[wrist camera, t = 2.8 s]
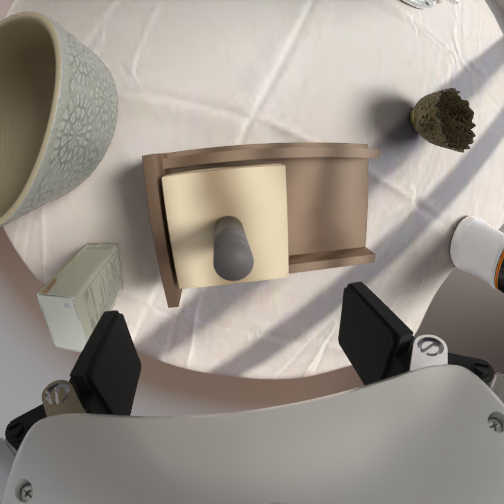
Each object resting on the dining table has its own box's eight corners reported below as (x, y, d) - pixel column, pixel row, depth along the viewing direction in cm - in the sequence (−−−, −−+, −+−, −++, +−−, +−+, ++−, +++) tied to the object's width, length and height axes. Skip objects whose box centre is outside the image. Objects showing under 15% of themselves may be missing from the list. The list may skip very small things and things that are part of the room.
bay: (363, 144, 28) (398, 145, 22) (360, 255, 33) (389, 278, 27) (159, 154, 26) (142, 156, 20) (177, 275, 31) (168, 307, 25)
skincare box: (87, 242, 28) (33, 289, 17) (118, 242, 29) (72, 293, 18) (94, 289, 31) (53, 348, 19) (124, 291, 31) (90, 355, 20)
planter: (13, 99, 20) (-67, 94, 6) (119, 35, 20) (61, -27, 6) (38, 214, 26) (-43, 259, 12) (150, 163, 26) (85, 178, 12)
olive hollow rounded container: (441, 118, 28) (481, 118, 20) (424, 158, 30) (466, 165, 22) (407, 83, 26) (448, 75, 18) (388, 124, 28) (430, 122, 20)
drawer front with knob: (271, 161, 27) (315, 171, 15) (276, 253, 31) (312, 320, 19) (172, 171, 26) (136, 188, 14) (185, 263, 30) (168, 337, 18)
